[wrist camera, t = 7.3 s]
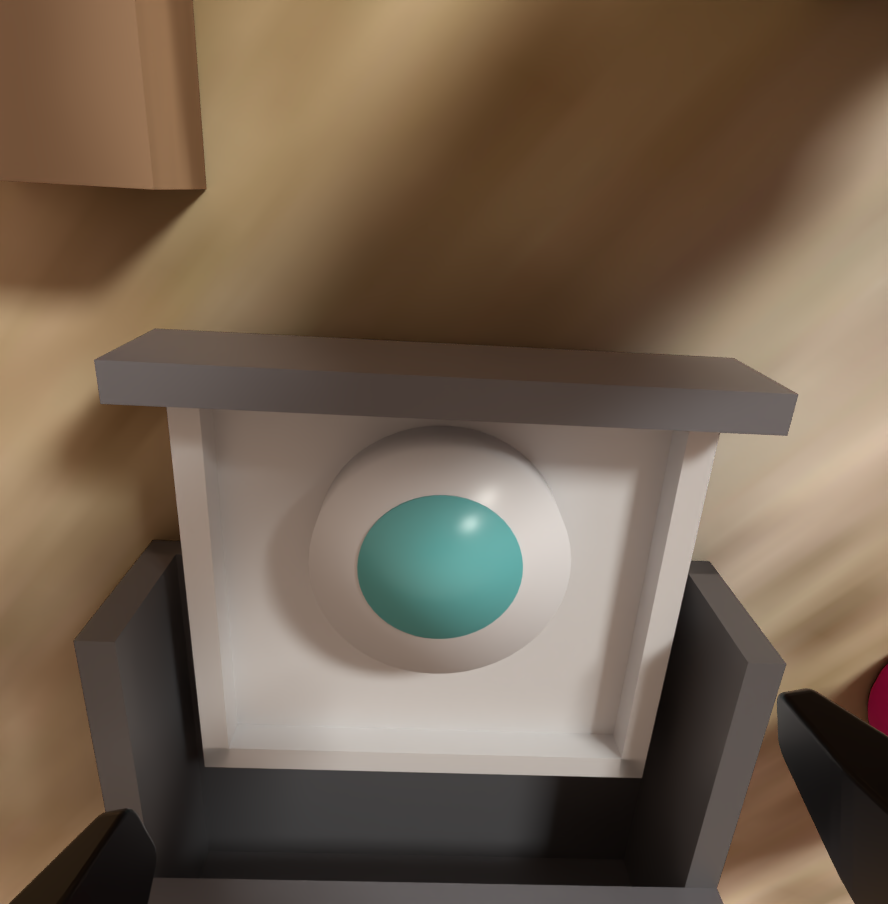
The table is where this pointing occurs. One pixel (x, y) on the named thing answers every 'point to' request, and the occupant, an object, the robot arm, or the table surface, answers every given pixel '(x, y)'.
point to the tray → (401, 408)
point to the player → (424, 781)
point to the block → (100, 94)
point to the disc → (439, 551)
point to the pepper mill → (879, 702)
